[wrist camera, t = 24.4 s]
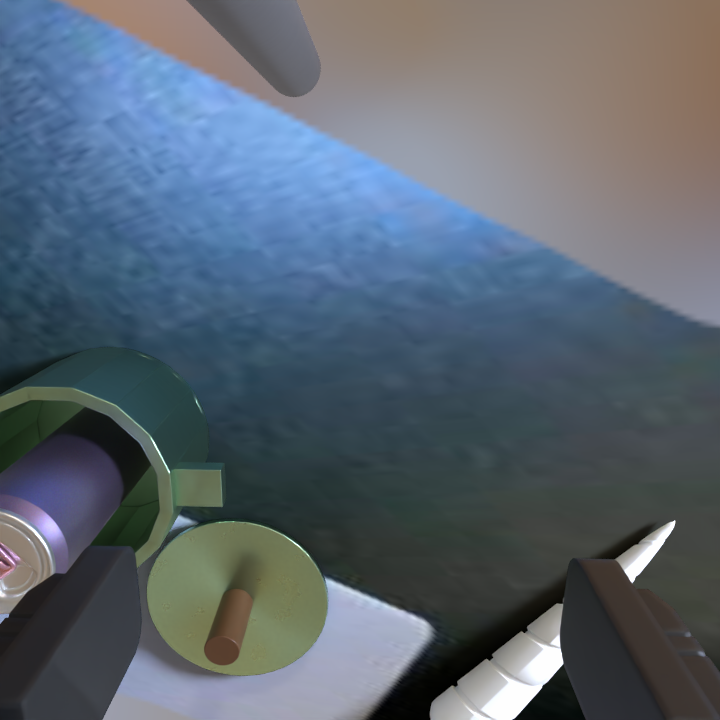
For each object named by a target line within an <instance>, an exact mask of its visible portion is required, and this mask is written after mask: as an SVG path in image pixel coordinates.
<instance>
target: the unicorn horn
mask: <svg viewBox="0 0 720 720" xmlns="http://www.w3.org/2000/svg"><path fill="white" fill-rule="evenodd" d="M674 525H675V521H673V522H669V523H667V524H666V525H664V526H662V527H661V528H659V529H657V530H656V531H654V532H653V533H651V534H649V535H648V536H647V537H645V538H644V539H642V540H641V541H640V542H639V545H634V546H632V547H631V548H630V549H628V550H627V551H626V552H624V553H623V554H621V555H620V556H619V557H617V558H616V559H615V560H616V561H617V562H618V563H619V564H620V565H621V567H622V568H623V570H624V572H625V573H626V575H627V576H628V578H629V579H630V581H631V582H633V581H634V580H635V576H637V575H638V574H640V573H641V571H642V570H643V569H644V568H645V566H646V565H647V564H648V563H649V561H650V560H651V559H652V558H653V556H654V555H655V554H656V552H657V551H658V550H659V548H660V547H661V546H662V544H663V543H664V541H665V539H666V538H667V537H668V535H669V534H670V533H671V531H672V529H673V528H674ZM563 602H564V598H563ZM562 610H563V604H558V603H557V604H555V605H554V606H553V607H552V608H550V609H549V610H548V611H546V612H545V613H544V614H543V615H541V616H540V617H539V618H537V619H536V620H535V621H534V622H532V623H531V624H530V625H528V626H527V629H528V631H527V632H525V633H523V632H522V631H521V632H520V633H518V634H517V635H516V636H514V637H513V638H512V639H511V640H509V641H508V642H507V643H506V644H504V645H503V646H502V647H501V648H499V649H498V650H497V651H496V652H494V653H493V654H492V656H493V658H492V659H491V660H490V661H489V660H488V659H485V660H484V661H483V662H482V663H480V664H479V665H478V666H476V667H475V668H474V669H473V670H471V671H470V672H469V673H467V674H466V675H465V676H464V677H462V678H461V679H460V680H458V681H457V683H458V686H456V687H455V686H451V687H450V688H448V689H447V690H446V691H445V692H443V693H442V694H441V695H439V696H438V697H437V698H436V699H435V700H434V701H433V702H432V704H431V709H430V718H431V720H512V719H514V718H515V717H516V716H517V715H518V714H519V713H520V712H521V711H522V709H523V708H524V707H525V706H526V705H527V704H528V703H529V702H530V701H531V699H532V698H533V697H534V696H535V695H536V694H537V693H538V692H539V690H540V689H541V688H542V685H543V684H545V683H547V682H548V680H549V679H550V678H551V677H552V676H553V675H554V674H555V672H556V671H557V670H558V669H559V668H560V667H561V666H562V664H563V659H562V654H561V647H560V625H561V617H562Z"/></svg>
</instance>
